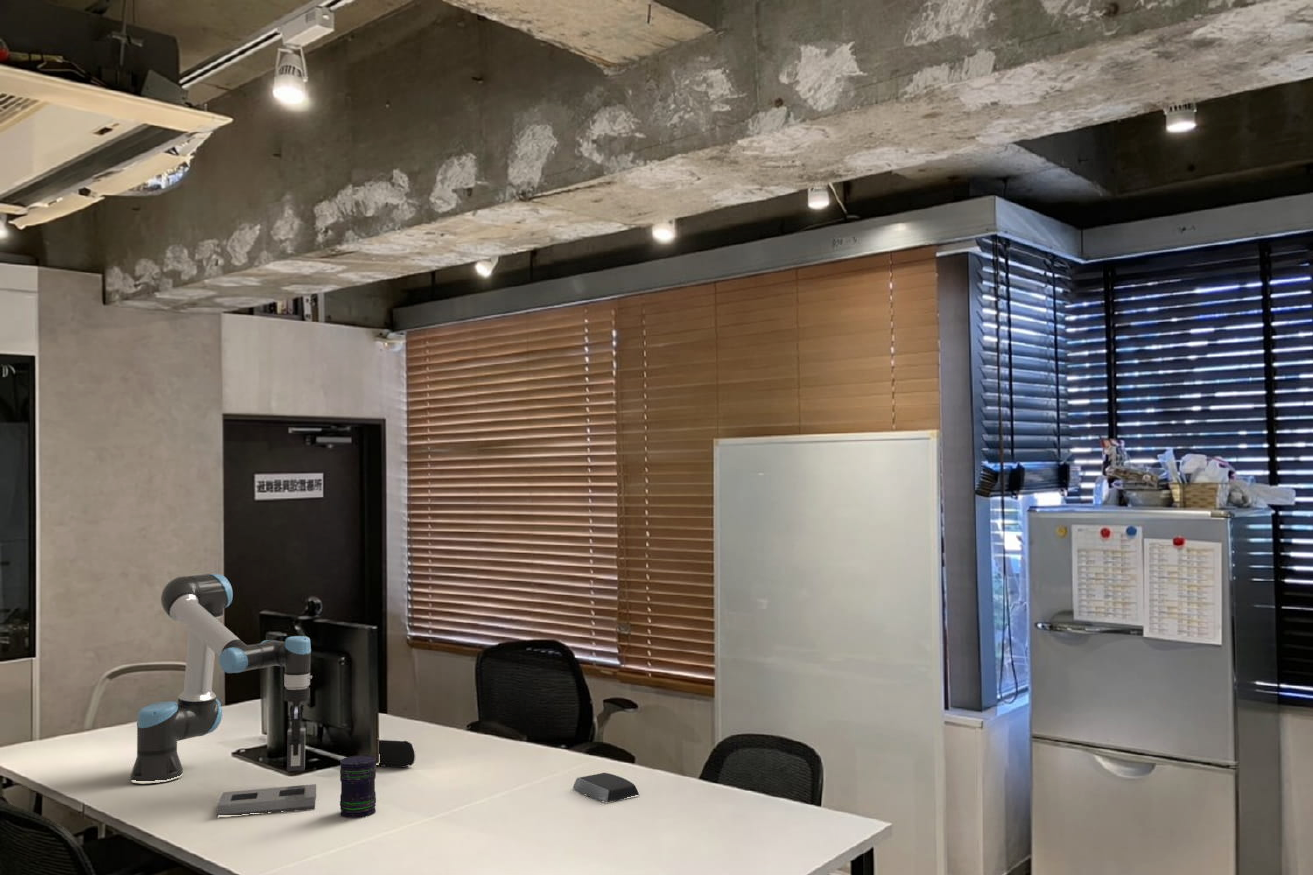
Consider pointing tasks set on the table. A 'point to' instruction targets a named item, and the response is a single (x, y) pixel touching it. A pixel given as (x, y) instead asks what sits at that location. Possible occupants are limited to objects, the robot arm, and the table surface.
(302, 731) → the plug
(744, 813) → the table surface
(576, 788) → the external hard drive
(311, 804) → the socket board
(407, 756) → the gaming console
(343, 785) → the storage jar
